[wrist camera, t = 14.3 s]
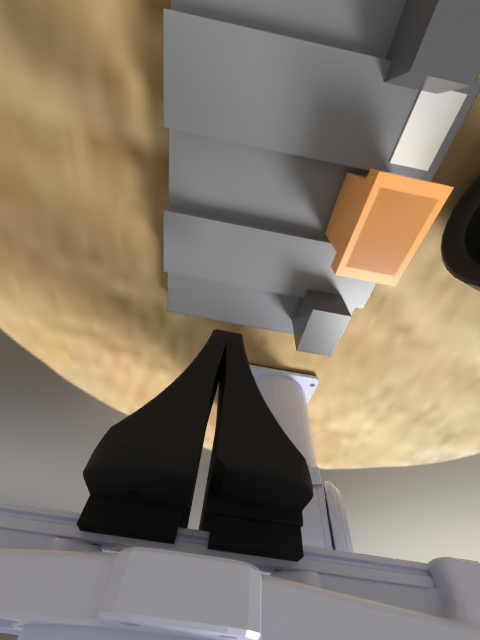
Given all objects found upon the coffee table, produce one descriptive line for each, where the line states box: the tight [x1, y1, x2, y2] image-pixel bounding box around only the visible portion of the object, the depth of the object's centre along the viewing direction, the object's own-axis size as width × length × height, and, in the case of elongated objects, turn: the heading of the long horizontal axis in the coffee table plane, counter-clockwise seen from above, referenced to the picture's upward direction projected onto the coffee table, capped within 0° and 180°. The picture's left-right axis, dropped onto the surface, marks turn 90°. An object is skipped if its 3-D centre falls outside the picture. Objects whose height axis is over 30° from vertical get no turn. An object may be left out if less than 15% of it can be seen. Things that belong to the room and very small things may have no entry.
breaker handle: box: [325, 169, 454, 286], centre depth 13 cm, size 4×3×5 cm
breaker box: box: [163, 0, 480, 357], centre depth 15 cm, size 20×14×6 cm
